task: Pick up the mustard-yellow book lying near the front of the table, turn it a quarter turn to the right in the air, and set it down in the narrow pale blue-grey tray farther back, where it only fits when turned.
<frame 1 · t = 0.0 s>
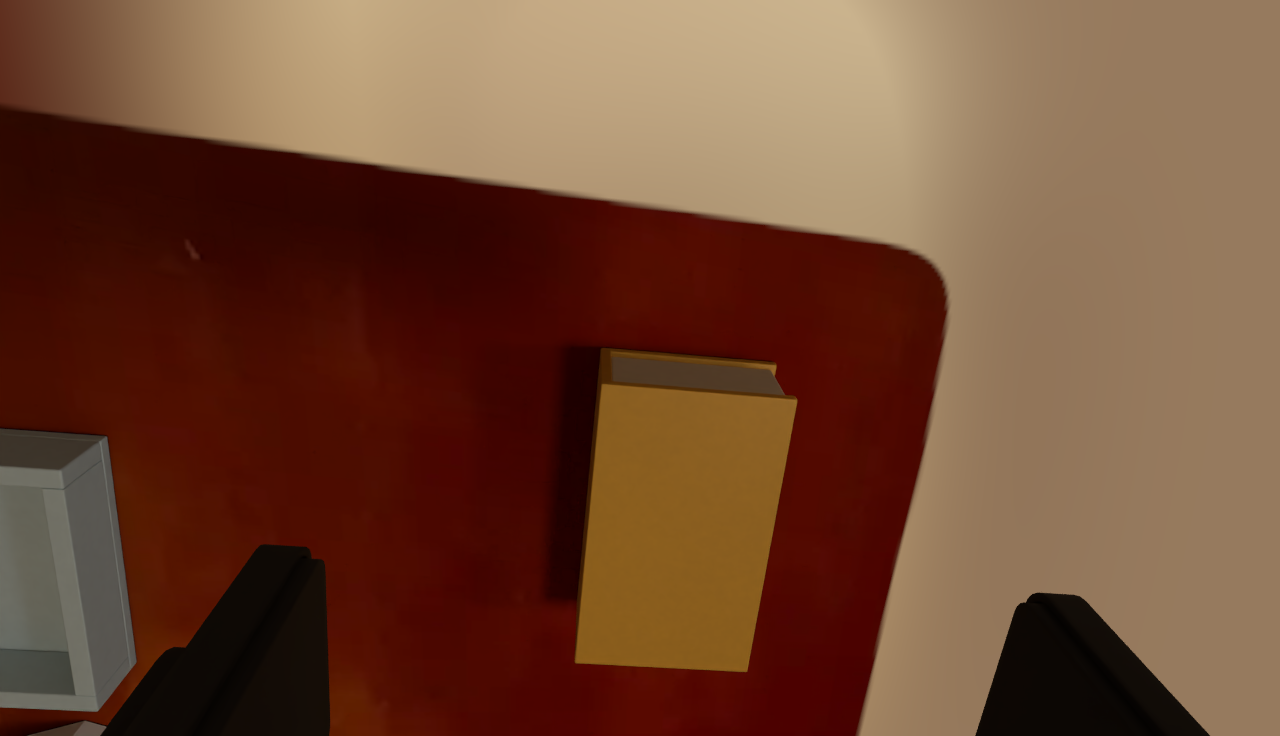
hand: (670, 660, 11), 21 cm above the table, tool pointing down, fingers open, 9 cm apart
book: (670, 487, 34), on the table
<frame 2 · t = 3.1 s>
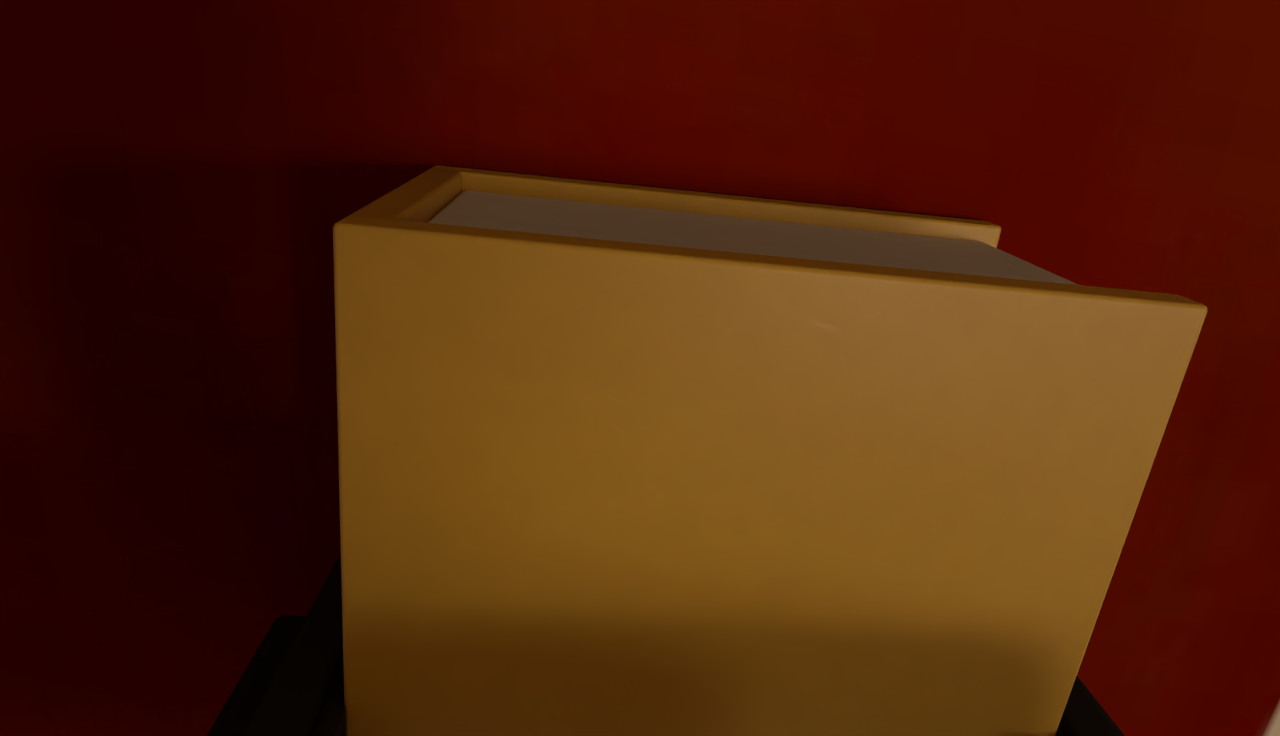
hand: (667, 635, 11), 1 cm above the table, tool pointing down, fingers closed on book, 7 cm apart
book: (663, 597, 12), on the table, touching gripper
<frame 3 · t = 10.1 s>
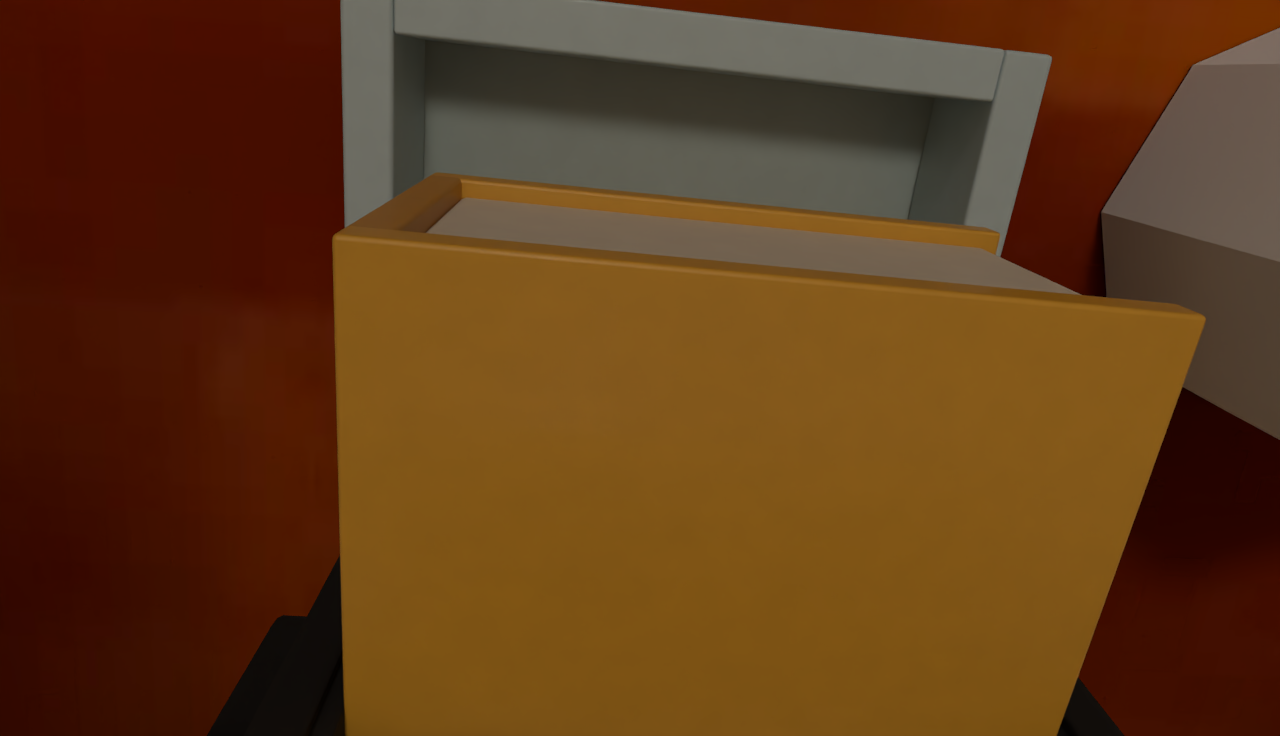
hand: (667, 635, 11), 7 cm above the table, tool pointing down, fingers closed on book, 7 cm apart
tray: (642, 427, 18), on the table
book: (663, 602, 12), point 6 cm above the table, touching gripper
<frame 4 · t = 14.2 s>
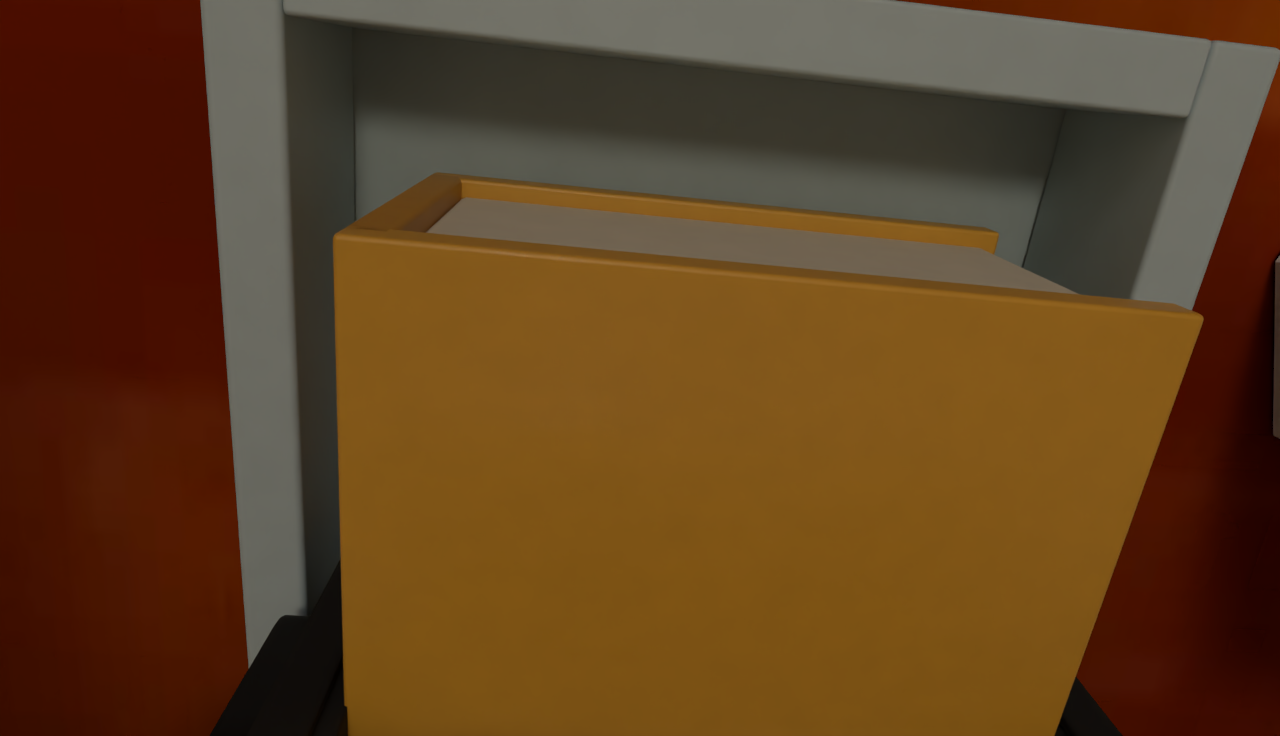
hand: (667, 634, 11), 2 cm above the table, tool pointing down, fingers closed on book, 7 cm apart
tray: (655, 540, 14), on the table
book: (662, 602, 12), point 2 cm above the table, touching gripper
when the fingers open (3 cm above the table, at t = 17.2 s): book drops 2 cm, resting on tray.
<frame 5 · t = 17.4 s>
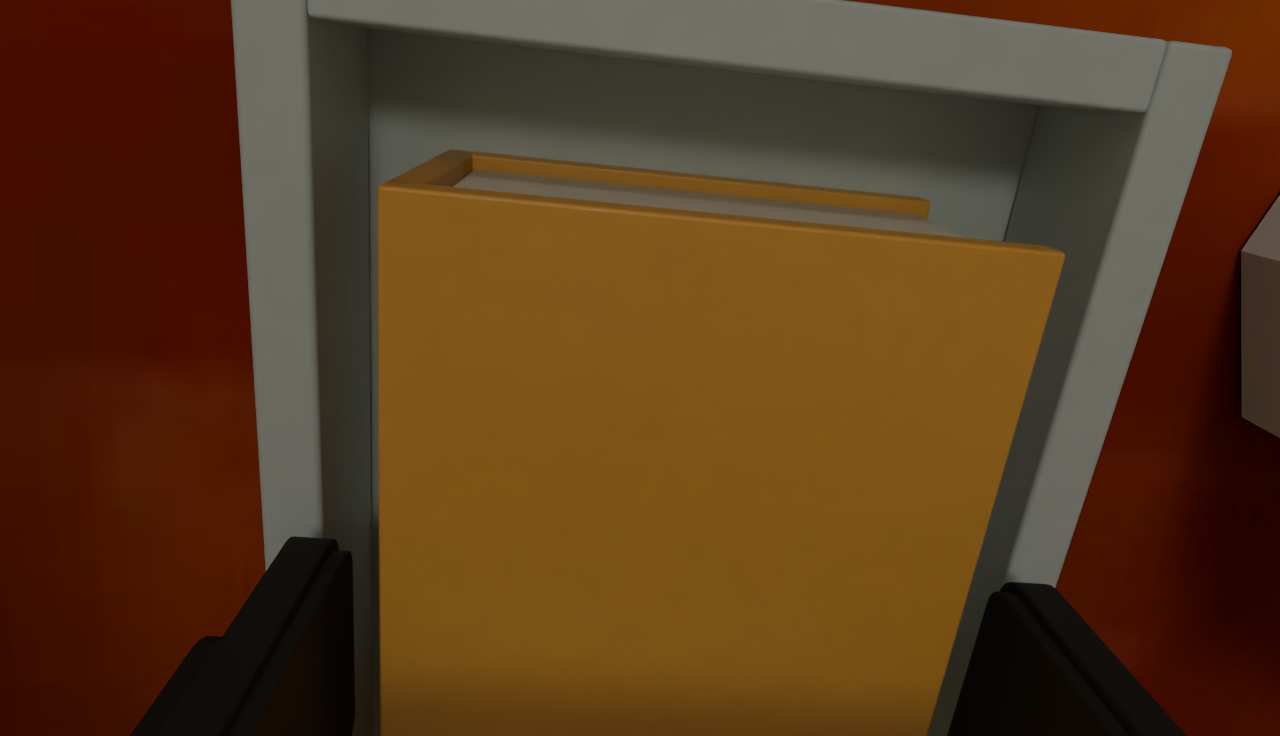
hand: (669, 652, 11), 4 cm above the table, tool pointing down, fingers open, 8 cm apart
tray: (653, 517, 14), on the table
book: (646, 529, 14), resting on tray
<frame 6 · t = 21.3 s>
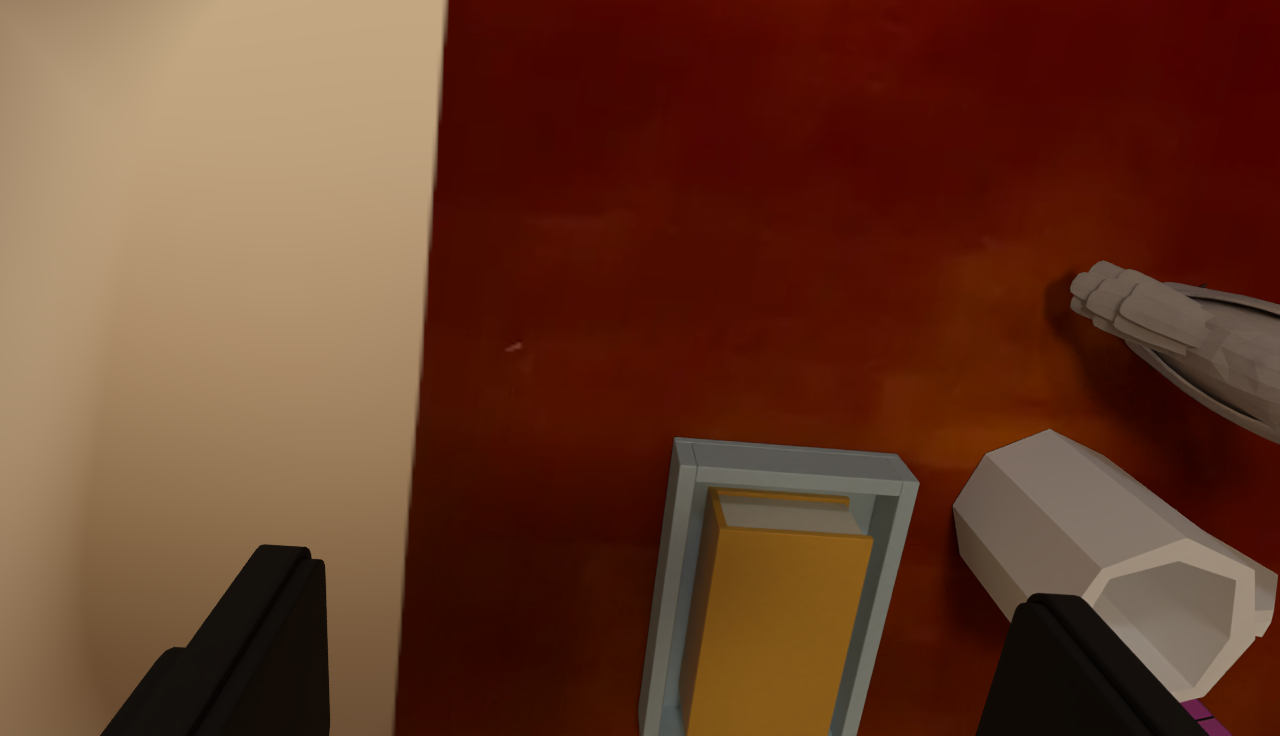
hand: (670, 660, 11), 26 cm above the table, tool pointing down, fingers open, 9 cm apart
mug: (1064, 505, 41), on the table
tray: (760, 588, 42), on the table
book: (759, 593, 41), resting on tray
bird: (1164, 323, 38), on the table
puzzle toy: (1115, 712, 46), on the table
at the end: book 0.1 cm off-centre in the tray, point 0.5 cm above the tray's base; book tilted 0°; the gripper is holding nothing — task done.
